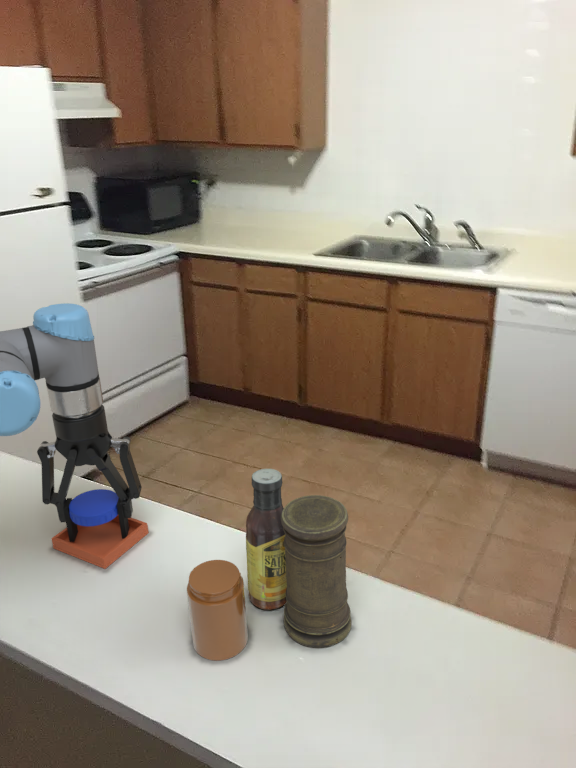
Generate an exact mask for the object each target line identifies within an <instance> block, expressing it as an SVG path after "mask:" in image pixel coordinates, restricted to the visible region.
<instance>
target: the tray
mask: <svg viewBox="0 0 576 768" xmlns="http://www.w3.org/2000/svg"><path fill="white" fill-rule="evenodd" d="M128 523H129V532H128V536H127V537H126V538H124V539H122V535H121V529H120V523H119V516H118V515H117V516H116V517H115V518H114V519H113V520H111V521H109V522H107V523H104V524H101V525H97V526H80V525H77V528H78V533H77V536H76V539H75V541H74V542H70V541H69V536H68V531H67V527H65V528H64V529H62V530H61V531H59V532H58V533H56V534H55V535H54V536H53V537H51V544H52V549H54V550H56V551H59V552H61V553H64V554H67V555H69V556H71V557H73V558H76V559H79V560H82V561H84V562H86V563H90V564H92V565H94V566H96V567H98V568H101V569H104V570H106V569H107V568H109V566H111V565H112V564H113V563H114V562H115V561H117V560H118V559H119V558H120V557H122V556H123V555H124V554H126V553H127V552H128V551H129V550H130V549H131V548H132V547H134V546H135V545H136V544H137V543H139V542H140V541H141V540H142V539H144V538H145V537H146V536H147V535H149V527H148V523H147V522H146V521H142V520H139V519H137V518H134V517H131V518H128Z"/></svg>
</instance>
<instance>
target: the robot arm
mask: <svg viewBox="0 0 576 768" xmlns="http://www.w3.org/2000/svg"><path fill="white" fill-rule="evenodd" d="M32 317H33V321H32V325H28V326H24V327H19V328H13V329H6V330H1V331H0V437H10V436H16V435H18V434H21V433H24V432H25V431H26V430H28V429H29V428H30V427H31V426H32V425H33V424H34V423H35V421H36V420H37V419H38V417H39V414H40V412H41V411H40V410H41V397H40V391H39V387H38V384H37V382H36V381H39V380H41V379H45V385H46V391H47V397H48V402H49V408H50V411H51V412H52V415H51V417H52V423H53V428H54V433H55V437H56V438H55V441H51V442H48V441H47V440H44V441H42V442H41V444H40V445H39V447H38V449H37V451H36V453H37V456H38V458H39V460H40V463H41V493H42V497H41V499H42V500H41V501H42V504H44V505H49V504H50V505H54V506H55V507H56V510H57V516H58V520H59V522H60V523H65V527H66V528H67V531H68V536H69V541H70V542H74V541H75V539H76V536H77V533H78V528H77V524H75V523H74V522H72V520H71V519H70V514H69V512H70V510H69V505H70V502H71V501H72V500H73V497H68V493H69V489H70V486H71V482H72V478H73V476H74V472H75V468H76V467H83V466H86V465H87V466H95V467H96V468H97V470H98V471H99V472H101V473H102V474H103V476H104V478H105V479H106V481H107V482H108V484H109V486H110V487H111V488H112V491H113V492H115V493H116V494H117V496H118V497H119V498H118V502H117V510H118V516H119V523H120V529H121V535H122V539H124V538H126V537H127V536H128V532H129V523H128V518H132V515H133V512H134V509H133V501H132V500H133V499H135V500H137V499H139V498H140V495H141V492H142V483H141V480H140V477H139V475H138V470H137V468H136V465H135V461H134V458H133V456H132V453H131V441H132V440H131V437H130V436H127V435H126V436H123V438H118V437H117V438H116V437H113V436H112V435H111V434H110V432H109V428H108V421H107V416H106V409H105V405H103V403H104V398H103V397H104V396H103V390H102V384H101V378H100V373H99V365H98V360H97V359H98V358H97V352H96V345H95V335H94V333H93V328H92V325H91V320H90V315H89V312H88V310H87V309H86V308H85V307H84V306H82V305H80V304H77V303H68V302H67V303H65V302H63V303H55V304H50V305H48V306H42V307H40V308H39V309H37V310H35V312H34V313H33V316H32ZM110 448H113V449H114V452H115V453H116V454H117V455H119V461H120V465H121V468H122V470H123V474H124V477H125V479H126V481H125V479H124V478H123V476H122V475H121V474H120V472H119V470H118V469H117V467H116V466H115V465H114V462H113V460H112V459H111V456H110V454H109V453H108V451H109V450H110ZM56 452H58V453H59V454H60V455H61V456H62V457H63V458H65V460H66V461H65V465H64V469H63V474H62V477H61V481H60V484H59V488H58V491H57V492H55V457H54V456H55V454H56Z"/></svg>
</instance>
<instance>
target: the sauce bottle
mask: <svg viewBox="0 0 576 768" xmlns="http://www.w3.org/2000/svg"><path fill="white" fill-rule="evenodd" d="M251 486H252V488H253V495H252V496H253V501H252V503H253V506H252V507H251V508H250V510H249V512H248V514H247V516H246V521H245V530H246V532H245V551H246V552H245V553H246V577H247V591H248V598H249V600H250V602H251V604H252V605H253V606H255V607H256V608H259V609H261V610H266V611H267V610H268V611H269V610H276V609H279V608H281V607H283V606H285V605H286V603H287V599H286V588H287V579H286V560H285V547H284V538H285V532H284V529H283V526H282V523H281V514H282V511H283V509H284V505H283V498H282V486H283V474H282V473H281V472H280V471H279V470H277V469H274V468H261V469H257V470H255V471H254V472H253V473H252V475H251Z"/></svg>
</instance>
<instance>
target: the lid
mask: <svg viewBox="0 0 576 768" xmlns="http://www.w3.org/2000/svg"><path fill="white" fill-rule="evenodd" d="M118 498H119V497H118V496H117V494H116V493H115V491H114V490H110V489H105V488H98V489H91V490H87V491H84V492H82V493H80V494H78V495H76V496H75V497H73V498H72V501H71V502H70V505H69V510H70V512H69V514H70V519H71V520H72V522H74V523H75V524H77V525H80V526H97V525H101V524H104V523H107V522H109V521H111V520H113V519H114V518H115V517H116V516H117V515H118V510H117V502H118Z"/></svg>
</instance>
